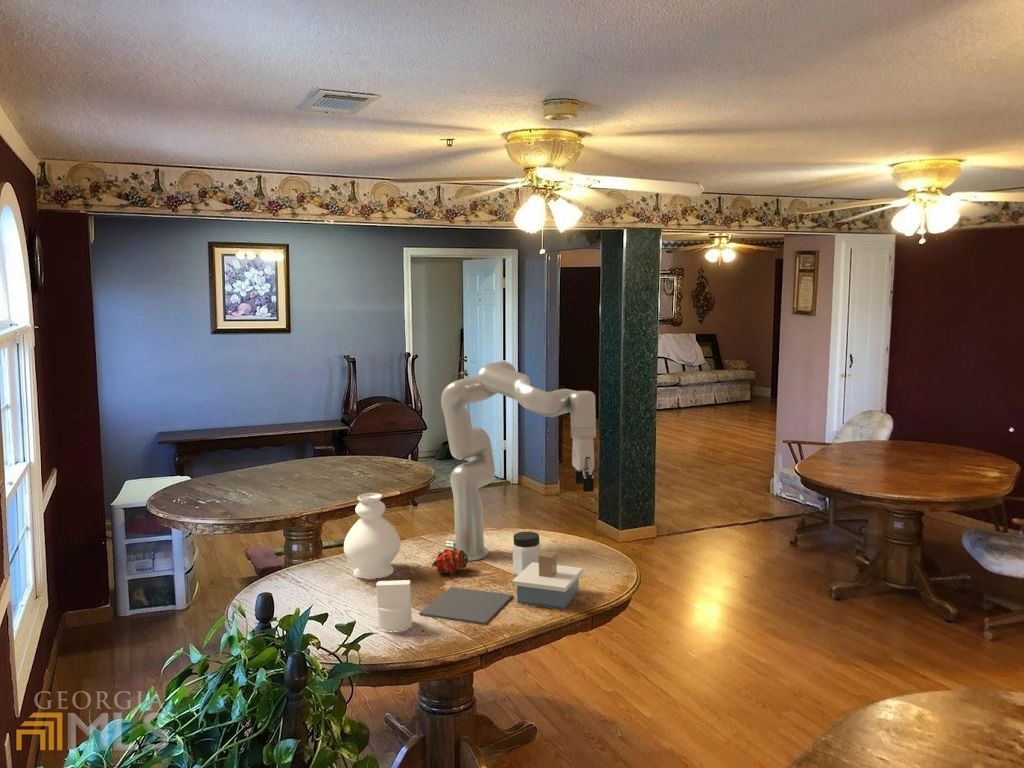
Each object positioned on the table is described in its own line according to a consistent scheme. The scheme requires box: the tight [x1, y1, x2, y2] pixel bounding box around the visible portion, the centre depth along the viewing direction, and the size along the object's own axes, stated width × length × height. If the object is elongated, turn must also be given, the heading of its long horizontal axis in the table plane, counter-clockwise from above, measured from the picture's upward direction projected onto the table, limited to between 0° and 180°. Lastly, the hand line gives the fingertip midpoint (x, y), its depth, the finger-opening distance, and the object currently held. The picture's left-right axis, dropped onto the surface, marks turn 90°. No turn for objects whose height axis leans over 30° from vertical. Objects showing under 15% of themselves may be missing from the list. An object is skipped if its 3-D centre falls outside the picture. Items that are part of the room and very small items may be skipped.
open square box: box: [516, 576, 580, 610], centre depth 228 cm, size 14×14×6 cm
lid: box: [511, 551, 584, 592], centre depth 227 cm, size 16×16×7 cm
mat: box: [418, 586, 514, 626], centre depth 224 cm, size 20×20×1 cm
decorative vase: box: [343, 492, 401, 580], centre depth 251 cm, size 18×18×25 cm
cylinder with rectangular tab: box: [375, 579, 413, 633], centre depth 211 cm, size 9×9×12 cm
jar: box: [512, 531, 542, 576], centre depth 248 cm, size 9×8×12 cm
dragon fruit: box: [431, 548, 468, 576], centre depth 250 cm, size 8×8×12 cm
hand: (584, 487), depth 240 cm, fingers open, 9 cm apart
